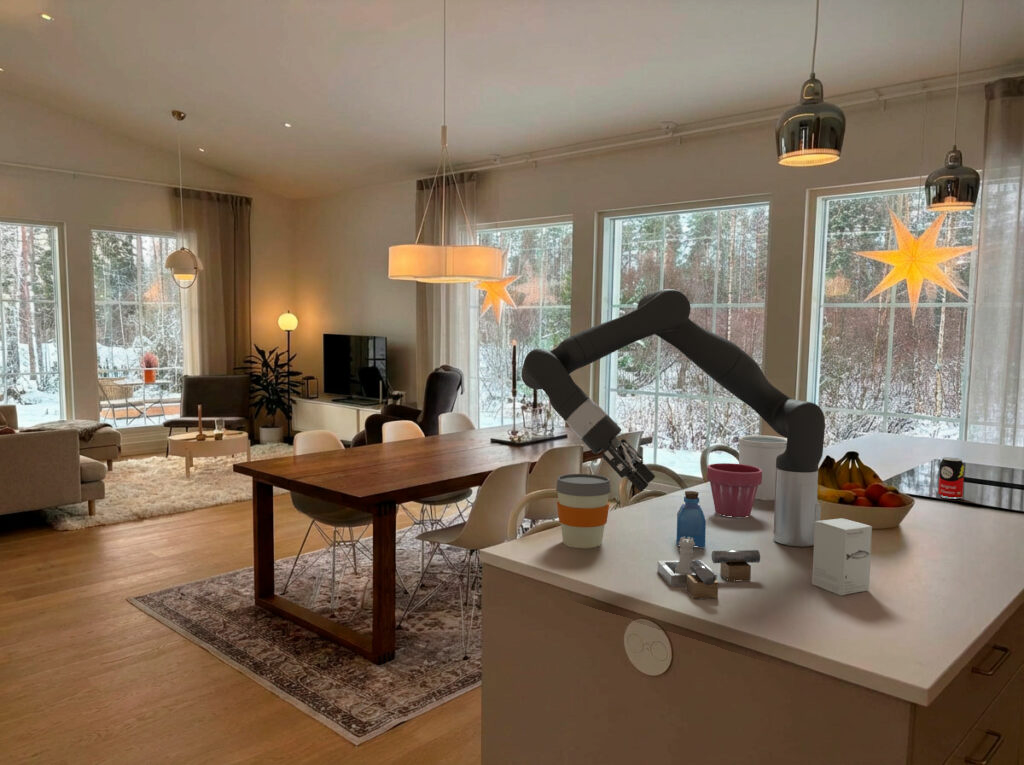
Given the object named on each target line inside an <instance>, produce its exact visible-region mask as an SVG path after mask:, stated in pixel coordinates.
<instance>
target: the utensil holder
mask: <svg viewBox="0 0 1024 765" xmlns="http://www.w3.org/2000/svg"><path fill="white" fill-rule="evenodd" d="M738 444H739V446H738V447H739V449H738V451H739V452H738V464H744V465H750V466H754V467H758V468H760V469H761V470H762V483H761V484H760V485H758V488H757V492H756V496H755V500H757V499H761V500H760V501H775V480H776V458H777V456H778V455H780V454H782V453H784V452H785V450H786V446H787V438H786V437H783V436H774V435H764V434H763V435H762V434H761V435H760V434H759V435H758V434H756V435H755V434H754V435H752V434H751V435H749V434H747V435H740V436H739V437H738Z"/></svg>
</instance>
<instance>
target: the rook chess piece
mask: <svg viewBox="0 0 1024 765" xmlns="http://www.w3.org/2000/svg"><path fill="white" fill-rule="evenodd" d="M693 540H694V539H693V538H691V540H690V537H687V539H685V537H683V539H682V537H681V538H680V541H679V542H678V543H679V545H680V546H681V547H680V549H679V552H680V553H679V560H678V561H679V563H678V565H677V567H676V568H675V572H676V573H675V574H677V573H693V572H692V571H691V569H690V564H691V562H692V561H693V560H694V556H693V554H694V553H695V551H694V545H695V543H694V541H693Z"/></svg>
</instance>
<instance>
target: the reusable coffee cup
mask: <svg viewBox="0 0 1024 765" xmlns="http://www.w3.org/2000/svg"><path fill="white" fill-rule="evenodd" d="M555 487H556V488H555V490H556V492H557V498H558V500H557V502H556V505H557V514H558V515H557V516H558V522H559V523H560V527H561V533H562V534H561V536H562V543H563V544H564V545H565V546H567V547H571V548H575V549H576V548H577V549H592V548H593V547H594V548H598V547H600V546H602V544H603V537H604V531H605V525H606V524H607V522H608V517H609V509H610V503H609V496H610V494H611V491H612V490H611V480H610V478H609V477H608V476H605V475H602V474H601V475H600V474H593V473H568V474H562V475H559V476H557V479H556V486H555ZM597 546H598V547H597ZM594 548H593V549H594Z"/></svg>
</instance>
